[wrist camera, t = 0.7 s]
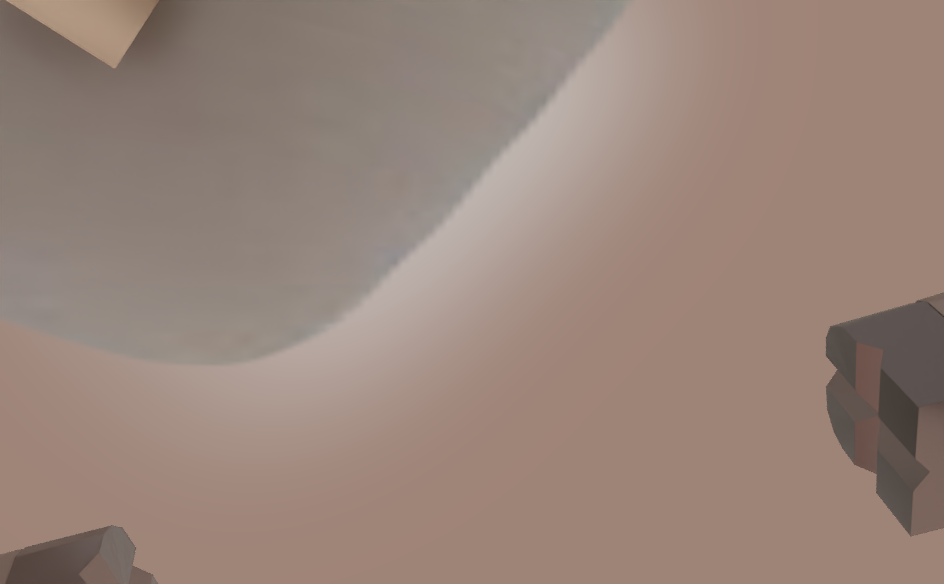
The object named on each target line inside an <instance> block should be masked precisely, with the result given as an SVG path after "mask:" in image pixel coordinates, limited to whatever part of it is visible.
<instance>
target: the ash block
mask: <svg viewBox="0 0 944 584" xmlns="http://www.w3.org/2000/svg"><path fill="white" fill-rule="evenodd" d="M6 1H8V2H9V3H11V4H12V5H14V6H16V7H17V8H19V9H20V10H22V11H23V12H25V13H27V14H28V15H30V16H31V17H33V18H35V19H36V20H38V21H39V22H41V23H43V24H44V25H46V26H47V27H49V28H50V29H52V30H54V31H55V32H57V33H58V34H60V35H62V36H63V37H65V38H66V39H68V40H70V41H71V42H73V43H74V44H76V45H77V46H79V47H81V48H82V49H84V50H85V51H87V52H89V53H90V54H92V55H93V56H95V57H96V58H98V59H100V60H101V61H103V62H104V63H106V64H108V65H109V66H111V67H112V68H114V69H115V68H116V67H117V65H118V64H119V62H120V60H121V59H122V57H123V56H124V54H125V53H126V51H127V50H128V48H129V46H130V45H131V43H132V42H133V40H134V39H135V37H136V36H137V34H138V32H139V31H140V29H141V28H142V26H143V25H144V23H145V22H146V20H147V18H148V17H149V15H150V14H151V12H152V11H153V9H154V7H155V6H156V4H157V3H158V1H159V0H6Z"/></svg>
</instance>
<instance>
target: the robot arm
mask: <svg viewBox="0 0 944 584" xmlns="http://www.w3.org/2000/svg"><path fill="white" fill-rule="evenodd" d="M826 356H827V358H828V359H829V360H830V361H831V362H832V364H833V365H834V366H835V367H836V368H837V369H838V370H837V371H836V373H835V374H834V376H833V377H832V379H831V380H830V382H829V383H828V385H827V386H826V394H827V410H828V414H829V417H830V420H831V424H832V427H833V430H834V433H835V435H836V437H837V439H838V441H839V443H840V444H841V446H842V448H843V450H844V451H845V452H846V454H847V455H848V457H849V458H850V459H851V460H852V462H853V463H854V465H857V466H859V467H861V468H864V469H866V470H869V471H871V472H874V473H876V474H877V483H876V486H877V487H876V493H877V494H878V495H879V497H880V498H881V499H882V500H883V502H884V503H885V504H886V506H887V507H888V508H889V509H890V511H891V512H892V513H893V515H894V516H895V517H896V518H897V520H898V521H899V522H900V523H901V525H902V526H903V527H904V528H905V530H906V531H907V532H908V533H909V535H910V536H914V535H918V534H922V533H926V532H929V531H933V530H938V529H941V528H944V293H941V294H937V295H934V296H931V297H927V298H924V299H921V300H917V301H916V302H915V303H910V304H907V305H903V306H900V307H896V308H893V309H889V310H886V311H882V312H879V313H876V314H872V315H868V316H865V317H861V318H858V319H854V320H851V321H847V322H844V323H840V324H837V325H833V326H830V328H829V331H828V334H827V337H826ZM135 550H136V547H135V545H134V544H133V542H132V541H131V540H130V538H129V537H128V535H127V534H126V532H125V531H124V529H123V528H122V527H116V526H112V525H111V526H107V527H104V528H100V529H96V530H92V531H88V532H84V533H80V534H76V535H72V536H69V537H64V538H60V539H56V540H52V541H49V542H45V543H40V544H37V545H32V546H29V547H25V548H24V549H21V550H16V551H12V552H8V553H5V554H0V584H158V583H157V581H156V580H155V578H154V577H153V575H152V574H150V573H148V572H146V571H143V570H141V569H139V568H137V567H134V566H132V565H133V560H134V555H135Z"/></svg>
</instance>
